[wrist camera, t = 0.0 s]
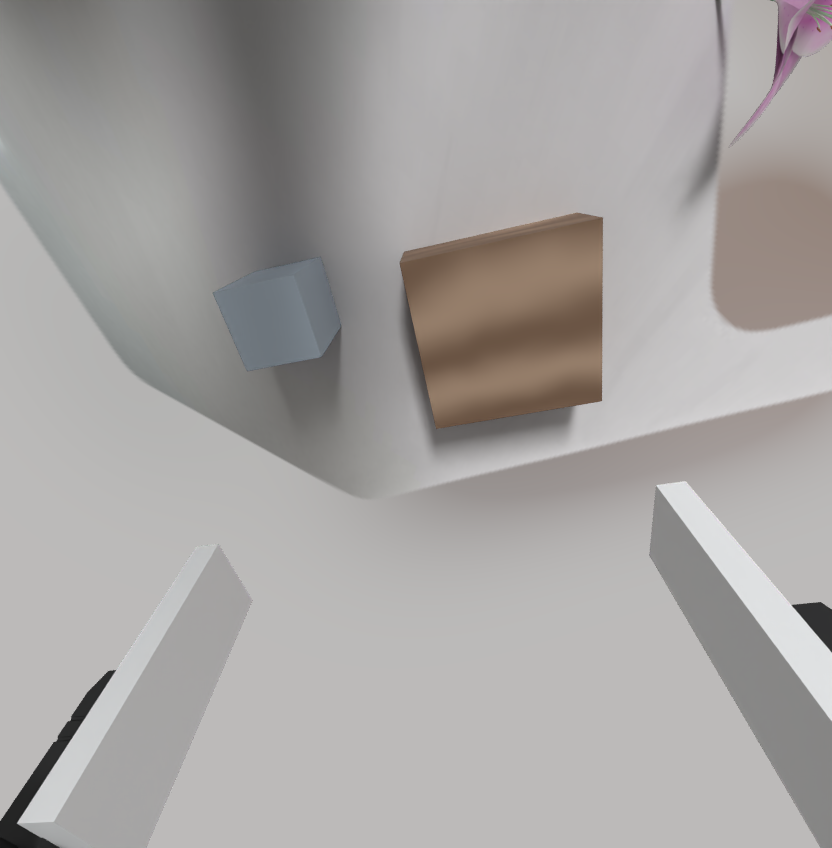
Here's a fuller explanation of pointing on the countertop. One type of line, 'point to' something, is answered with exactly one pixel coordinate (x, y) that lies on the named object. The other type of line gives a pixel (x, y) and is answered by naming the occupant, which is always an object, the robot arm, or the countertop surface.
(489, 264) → the walnut block
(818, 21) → the lily
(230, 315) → the slate block
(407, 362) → the countertop surface
